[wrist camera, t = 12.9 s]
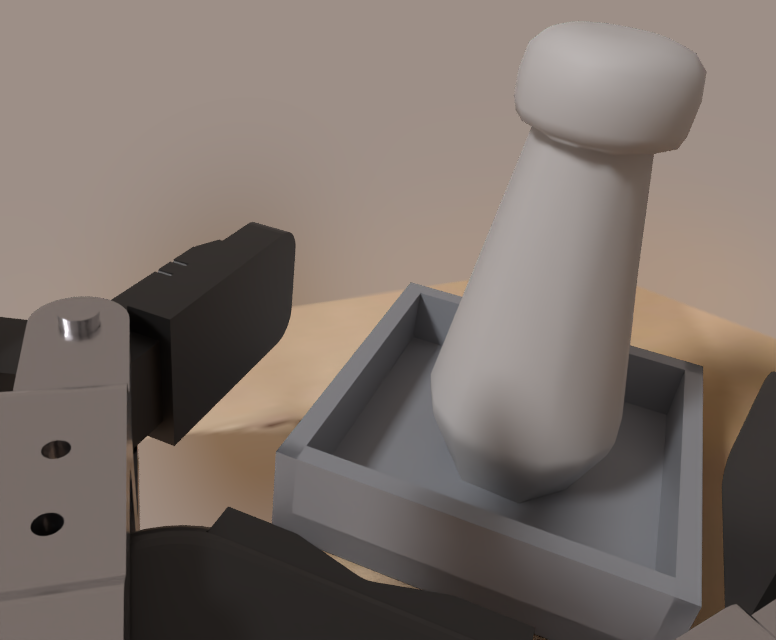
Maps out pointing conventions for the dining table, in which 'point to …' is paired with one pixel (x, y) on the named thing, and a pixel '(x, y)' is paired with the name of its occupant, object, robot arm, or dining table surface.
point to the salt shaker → (562, 261)
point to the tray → (495, 513)
